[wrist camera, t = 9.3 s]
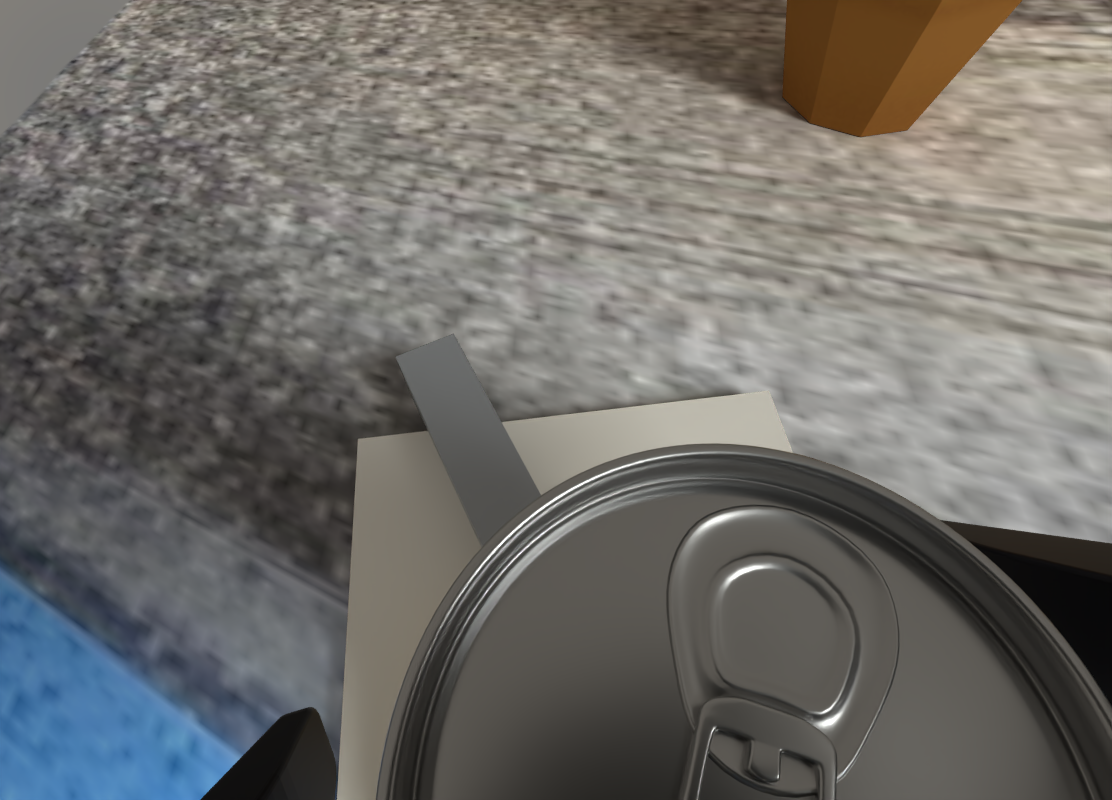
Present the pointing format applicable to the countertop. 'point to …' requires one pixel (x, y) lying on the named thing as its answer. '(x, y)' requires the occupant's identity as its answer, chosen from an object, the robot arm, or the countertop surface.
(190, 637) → the countertop surface
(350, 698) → the octagonal ring fixture plate
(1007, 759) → the can
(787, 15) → the potted plant
